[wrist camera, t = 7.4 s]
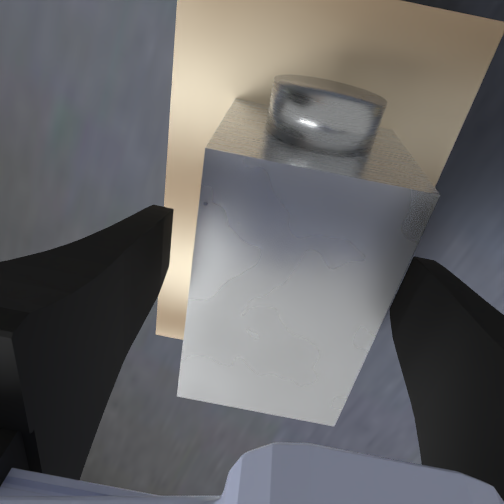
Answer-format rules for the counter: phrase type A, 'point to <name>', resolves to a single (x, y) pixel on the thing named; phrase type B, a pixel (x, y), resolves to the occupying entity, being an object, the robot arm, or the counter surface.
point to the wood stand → (320, 66)
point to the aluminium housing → (298, 248)
